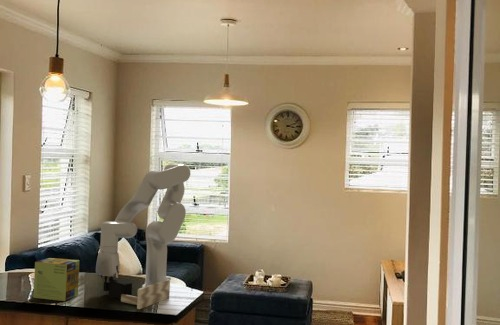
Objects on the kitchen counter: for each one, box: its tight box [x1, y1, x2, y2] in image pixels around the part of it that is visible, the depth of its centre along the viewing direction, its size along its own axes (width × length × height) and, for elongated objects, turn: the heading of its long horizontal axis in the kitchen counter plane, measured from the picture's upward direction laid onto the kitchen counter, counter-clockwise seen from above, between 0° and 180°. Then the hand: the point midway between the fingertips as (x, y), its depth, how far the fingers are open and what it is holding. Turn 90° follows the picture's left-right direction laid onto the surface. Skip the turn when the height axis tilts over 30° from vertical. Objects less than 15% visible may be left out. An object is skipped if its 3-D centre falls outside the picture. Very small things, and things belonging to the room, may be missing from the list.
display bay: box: [120, 279, 171, 310], centre depth 220 cm, size 21×13×8 cm, turn 154°
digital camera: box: [108, 278, 133, 301], centre depth 225 cm, size 10×5×7 cm, turn 53°
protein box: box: [32, 257, 80, 302], centre depth 222 cm, size 10×15×16 cm
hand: (107, 290), depth 229 cm, fingers closed
